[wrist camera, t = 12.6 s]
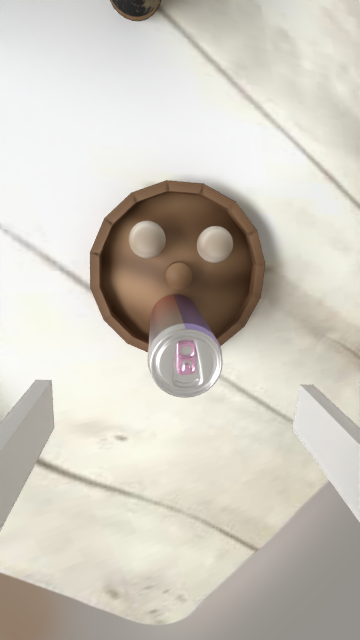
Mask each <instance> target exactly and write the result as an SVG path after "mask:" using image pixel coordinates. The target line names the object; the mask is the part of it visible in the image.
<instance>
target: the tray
mask: <svg viewBox="0 0 360 640" xmlns="http://www.w3.org/2000/svg"><path fill="white" fill-rule="evenodd" d="M142 221H152V222H154V223H156V224H158V225H159V226H160V227H161V228H162V229H163V231H164V234H165V238H166V243H165V247H164V249H163V251H162V252H161V253H160V254H159V255H158V256H156V257H154V258H150V259H146V258H142V257H139V256H138V255H136V254H135V253H134V252H133V251H132V249H131V247H130V244H129V234H130V231H131V230H132V228H133V227H134V226H135V225H136V224H137V223H139V222H142ZM211 226H220V227H223V228H224V229H226V230H227V231H228V232H229V233H230V235H231V237H232V240H233V248H232V251H231V253H230V255H229V256H228V257H227V258H226V259H225V260H223V261H221V262H218V263H211V262H208V261H206V260H204V259H203V258H202V257H201V256H200V254H199V252H198V249H197V240H198V237H199V235H200V234H201V233H202V232H203V231H204V230H205V229H206V228H208V227H211ZM264 269H265V261H264V257H263V253H262V249H261V245H260V241H259V237H258V233H257V230H256V229H255V227H254V226H253V225H252V223H251V222H250V221H249V219H248V218H247V217H246V215H245V214H244V213H243V211H242V210H241V209H240V207H239V206H238V205H237V203H236V202H235V201H233V200H231V199H230V198H228V197H226V196H224V195H223V194H221V193H219V192H217V191H216V190H214V189H212V188H210V187H208V186H207V185H205V184H201V183H190V182H178V181H167V180H166V181H164V182H161V183H158V184H155V185H152V186H149V187H146V188H144V189H141V190H138V191H135V192H132V193H131V194H130V195H128V196H127V197H126V198H125V199H124V200H123V201H122V202H121V203H120V204H119V205H118V206H117V207H116V208H115V209H114V210H113V211H112V212H111V213H110V214H108V215H107V216H106V217H105V218H104V220H103V223H102V225H101V227H100V230H99V232H98V235H97V237H96V239H95V242H94V244H93V247H92V249H91V251H90V289H91V291H92V293H93V296H94V298H95V300H96V303H97V305H98V307H99V310H100V312H101V314H102V317H103V319H104V321H105V322H106V323H107V324H108V325H109V326H110V327H111V328H112V329H113V330H114V331H115V332H116V333H117V334H118V335H119V336H120V337H121V338H122V339H123V340H124V341H125V342H126V343H127V344H130V345H132V346H134V347H137V348H139V349H141V350H144V351H146V352H148V348H149V333H150V318H151V312H152V309H153V307H154V305H155V304H156V303H157V302H158V301H159V300H160V299H161V298H163V297H165V296H168V295H172V294H179V295H183V296H186V297H188V298H189V299H191V300H192V301H193V302H194V304H195V305H196V307H197V308H198V310H199V311H200V313H201V315H202V316H203V318H204V319H205V321H206V323H207V324H208V326H209V328H210V329H211V331H212V332H213V334H214V336H215V337H216V339H217V341H218V342H219V344H220V346H221V345H223V344H224V343H225V342H226V341H227V340H229V339H230V338H231V337H232V336H233V335H235V334H236V333H237V332H238V331H239V330H241V329H242V328H243V327H244V326H245V324H246V323H247V321H248V319H249V317H250V315H251V314H252V312H253V310H254V308H255V307H256V305H257V303H258V301H259V299H260V298H261V291H262V283H263V276H264Z"/></svg>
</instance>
